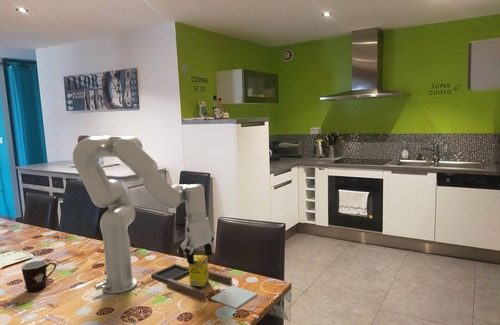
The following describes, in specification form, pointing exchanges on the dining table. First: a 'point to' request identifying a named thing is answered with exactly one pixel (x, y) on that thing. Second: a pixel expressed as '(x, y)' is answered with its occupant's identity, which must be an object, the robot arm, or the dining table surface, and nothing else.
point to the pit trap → (171, 273)
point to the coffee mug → (35, 275)
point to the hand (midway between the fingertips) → (200, 258)
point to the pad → (234, 296)
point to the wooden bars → (195, 291)
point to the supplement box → (199, 271)
